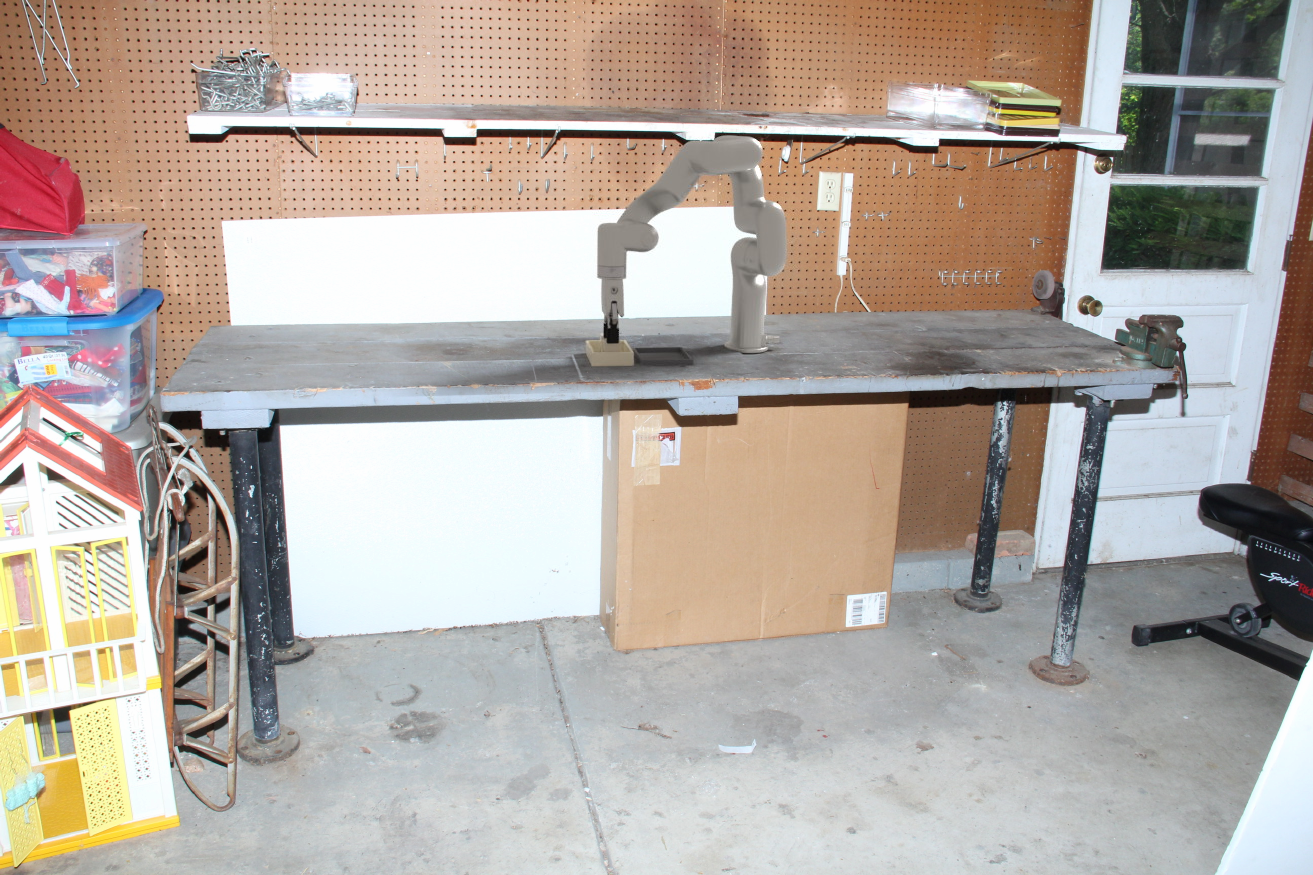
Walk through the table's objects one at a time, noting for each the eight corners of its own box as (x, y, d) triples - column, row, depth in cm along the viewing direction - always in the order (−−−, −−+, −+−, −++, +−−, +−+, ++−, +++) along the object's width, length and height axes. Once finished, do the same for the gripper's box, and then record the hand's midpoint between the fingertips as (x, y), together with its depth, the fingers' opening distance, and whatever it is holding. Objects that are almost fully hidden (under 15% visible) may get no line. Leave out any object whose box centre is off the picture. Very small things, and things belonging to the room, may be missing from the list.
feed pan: (681, 353, 274) (681, 346, 274) (692, 366, 260) (693, 359, 260) (632, 354, 272) (632, 347, 271) (641, 367, 258) (641, 360, 257)
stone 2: (617, 360, 263) (617, 338, 261) (619, 363, 259) (619, 341, 257) (602, 360, 262) (602, 338, 260) (604, 364, 258) (604, 341, 256)
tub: (625, 354, 272) (625, 340, 270) (633, 367, 258) (633, 352, 256) (585, 354, 270) (585, 340, 269) (591, 368, 256) (592, 353, 255)
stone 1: (614, 354, 269) (614, 332, 267) (616, 357, 265) (616, 335, 263) (599, 354, 268) (599, 333, 267) (601, 357, 265) (601, 336, 263)
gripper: (631, 277, 246) (630, 347, 251) (621, 267, 262) (620, 333, 267) (601, 277, 244) (600, 348, 250) (593, 267, 260) (593, 334, 266)
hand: (611, 340), depth 258 cm, fingers open, 5 cm apart
